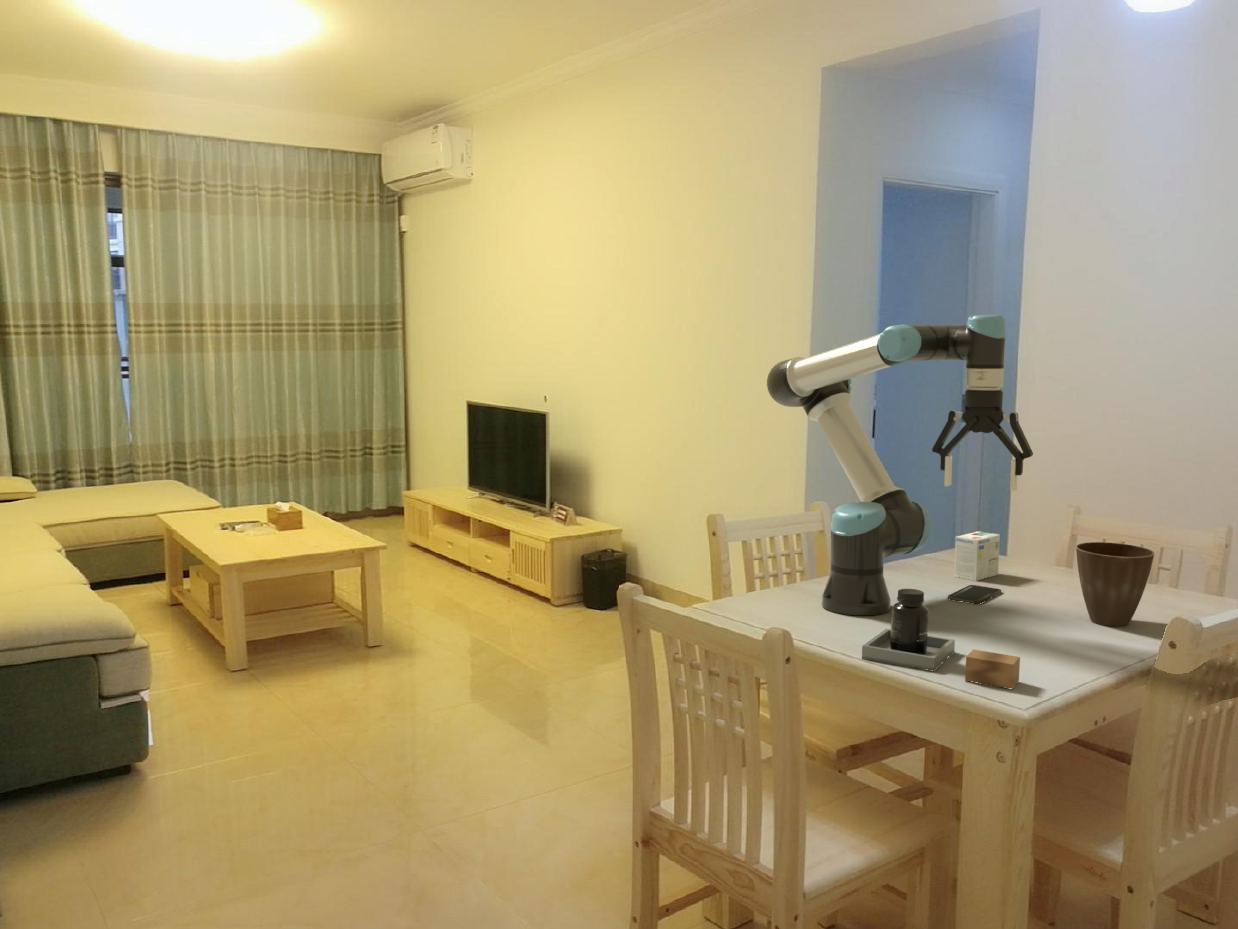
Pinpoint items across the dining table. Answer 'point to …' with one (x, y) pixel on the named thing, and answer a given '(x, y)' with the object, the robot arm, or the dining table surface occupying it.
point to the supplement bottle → (909, 622)
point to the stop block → (992, 668)
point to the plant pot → (1112, 580)
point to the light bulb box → (977, 555)
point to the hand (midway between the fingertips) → (979, 488)
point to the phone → (974, 594)
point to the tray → (931, 660)
